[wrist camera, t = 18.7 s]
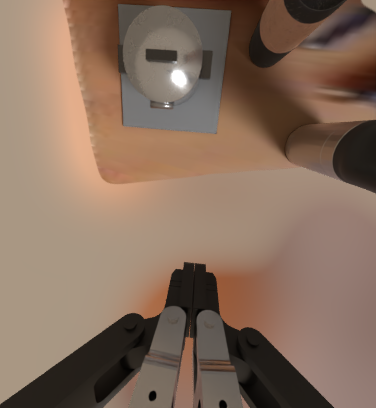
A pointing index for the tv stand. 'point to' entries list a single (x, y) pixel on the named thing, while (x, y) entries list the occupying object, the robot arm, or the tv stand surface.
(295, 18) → the travel mug
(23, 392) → the robot arm
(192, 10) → the mat
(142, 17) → the lid
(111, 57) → the tv stand surface
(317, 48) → the tv stand surface
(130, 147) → the tv stand surface
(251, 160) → the tv stand surface
